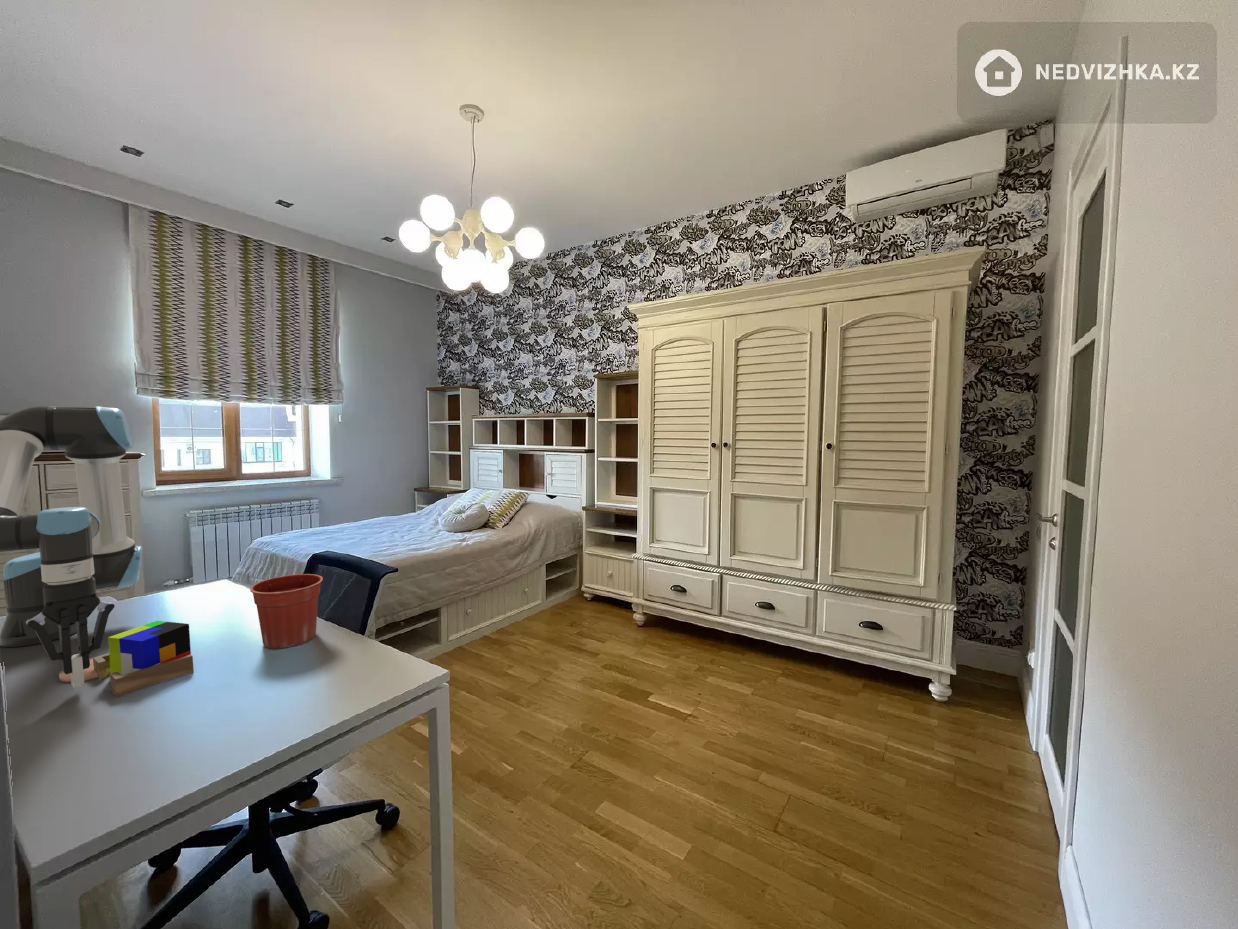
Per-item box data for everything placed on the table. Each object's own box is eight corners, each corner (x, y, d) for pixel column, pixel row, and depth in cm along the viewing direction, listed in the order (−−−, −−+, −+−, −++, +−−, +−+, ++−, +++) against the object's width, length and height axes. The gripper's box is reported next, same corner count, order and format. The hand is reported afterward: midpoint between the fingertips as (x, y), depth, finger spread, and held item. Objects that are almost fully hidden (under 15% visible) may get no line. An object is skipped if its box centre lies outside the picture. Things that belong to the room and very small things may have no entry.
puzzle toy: (144, 683, 111) (141, 641, 110) (111, 679, 113) (108, 637, 112) (191, 663, 121) (188, 623, 120) (159, 659, 123) (157, 620, 122)
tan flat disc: (53, 673, 115) (53, 669, 115) (124, 653, 125) (123, 649, 125) (65, 687, 109) (65, 683, 109) (139, 665, 119) (138, 661, 119)
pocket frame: (94, 674, 115) (92, 657, 115) (166, 652, 126) (165, 637, 125) (117, 697, 105) (115, 679, 105) (193, 671, 116) (192, 655, 116)
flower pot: (328, 642, 132) (326, 584, 131) (253, 659, 122) (249, 597, 121) (321, 623, 145) (319, 570, 144) (252, 637, 135) (249, 580, 134)
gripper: (25, 591, 97) (35, 704, 99) (116, 574, 108) (124, 677, 110) (18, 584, 101) (28, 693, 103) (107, 569, 112) (114, 668, 114)
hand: (77, 685), depth 106 cm, fingers closed
